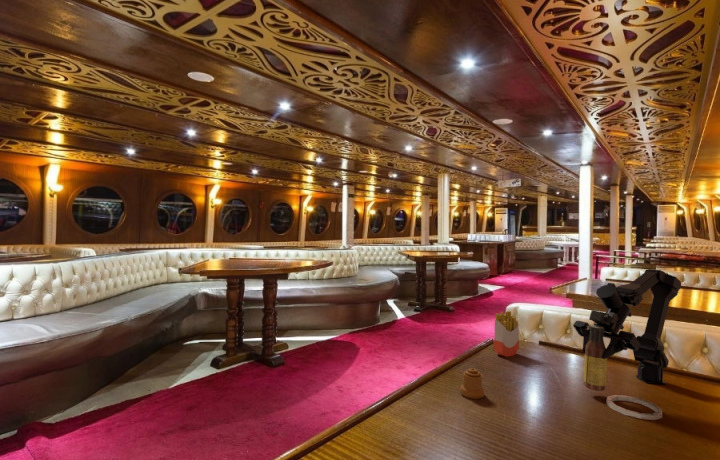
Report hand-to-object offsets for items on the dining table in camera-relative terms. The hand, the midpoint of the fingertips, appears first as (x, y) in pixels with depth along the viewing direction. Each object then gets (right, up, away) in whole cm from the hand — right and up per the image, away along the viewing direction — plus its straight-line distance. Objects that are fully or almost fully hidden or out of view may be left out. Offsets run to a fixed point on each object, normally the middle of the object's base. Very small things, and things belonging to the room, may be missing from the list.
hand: (593, 355), depth 123 cm
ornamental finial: (-39, -12, -2) cm, 41 cm away
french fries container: (-12, -13, +41) cm, 44 cm away
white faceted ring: (+7, -13, -8) cm, 17 cm away
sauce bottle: (+1, -11, +1) cm, 11 cm away
